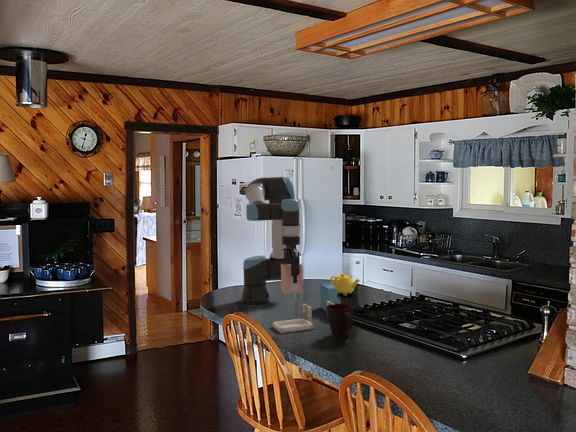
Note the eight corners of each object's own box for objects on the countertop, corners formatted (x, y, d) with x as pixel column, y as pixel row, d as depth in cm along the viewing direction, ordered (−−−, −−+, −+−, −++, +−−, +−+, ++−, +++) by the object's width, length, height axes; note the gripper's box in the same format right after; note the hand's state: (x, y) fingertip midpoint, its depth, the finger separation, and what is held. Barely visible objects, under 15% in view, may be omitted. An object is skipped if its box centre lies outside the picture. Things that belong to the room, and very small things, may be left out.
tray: (272, 326, 250) (272, 322, 250) (304, 322, 255) (304, 318, 255) (280, 333, 240) (280, 328, 240) (313, 329, 245) (313, 324, 245)
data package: (337, 312, 272) (337, 287, 271) (328, 313, 271) (328, 288, 270) (328, 306, 284) (328, 282, 283) (320, 307, 282) (319, 283, 281)
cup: (345, 330, 242) (344, 302, 241) (361, 339, 229) (361, 310, 228) (323, 333, 238) (323, 305, 237) (339, 342, 225) (338, 312, 224)
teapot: (360, 295, 307) (360, 275, 306) (336, 297, 304) (335, 276, 303) (351, 290, 321) (351, 270, 320) (328, 291, 318) (327, 271, 317)
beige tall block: (281, 291, 247) (280, 264, 246) (298, 290, 250) (298, 262, 249) (285, 294, 242) (284, 266, 241) (303, 292, 245) (302, 264, 244)
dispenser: (302, 318, 262) (302, 303, 261) (328, 315, 266) (328, 301, 266) (309, 323, 254) (309, 307, 254) (336, 319, 259) (335, 304, 258)
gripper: (275, 233, 251) (276, 286, 253) (290, 238, 234) (291, 294, 236) (291, 232, 254) (292, 284, 256) (307, 237, 237) (308, 292, 239)
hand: (292, 289), depth 246 cm, fingers closed on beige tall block, 5 cm apart
